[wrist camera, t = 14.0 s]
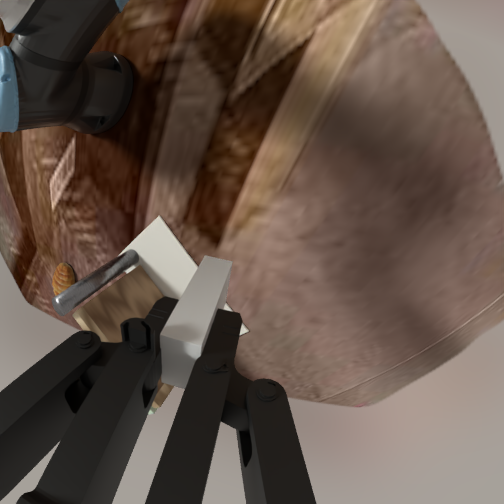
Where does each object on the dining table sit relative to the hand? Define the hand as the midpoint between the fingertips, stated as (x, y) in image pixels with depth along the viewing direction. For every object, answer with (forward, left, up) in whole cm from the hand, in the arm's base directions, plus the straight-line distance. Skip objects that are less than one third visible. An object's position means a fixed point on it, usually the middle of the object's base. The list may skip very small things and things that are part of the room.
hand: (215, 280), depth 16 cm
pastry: (-41, -34, -26) cm, 59 cm away
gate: (-13, -25, -25) cm, 38 cm away
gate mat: (-12, -22, -25) cm, 36 cm away
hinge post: (-22, -19, -25) cm, 39 cm away
